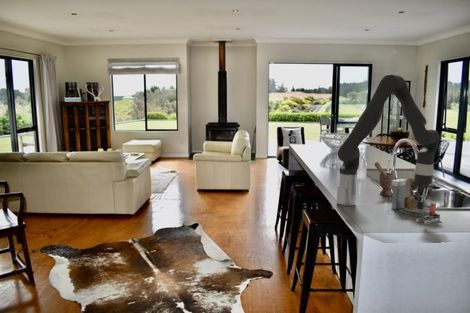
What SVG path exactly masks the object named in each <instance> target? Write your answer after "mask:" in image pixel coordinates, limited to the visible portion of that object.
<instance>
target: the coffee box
mask: <svg viewBox="0 0 470 313" xmlns="http://www.w3.org/2000/svg"><path fill="white" fill-rule="evenodd" d="M406 179H407V180H406V187H405V202H404V208H403V209H404V210H406V211H411V212H416V213H421V214H422V213H424V212H425V211H426V210H427V201H428V199H427V200H425V202H424V206H423V209H422V210H420V209H417V203H418V201H416V200H415V199H414V197H413V195H412V191H414V190H415V187H416V183H415V182H414V178H413V177H410V178H409V177H408V178H406Z"/></svg>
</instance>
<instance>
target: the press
mask: <svg viewBox="0 0 470 313" xmlns="http://www.w3.org/2000/svg"><path fill="white" fill-rule="evenodd" d="M407 179H408V178H399V179H395V180H392V185H393V187H392V193H393V195H392V196H391V197H392V198H391V210H395V211H397V210H399V212H398V213H401V214H404V215H408V216H411V217H415V218H416V219H415V222H416V223H421V222H423V221H424V222H423V224H424V225H425V226H427V225H430V224H433V222H434V223H437V222H439V221H440V220H441V214H439V213H437V212H435V216H436V218H433V219H428V218H429V215H430V210H427V209H426V211H425V212H424V213H422V214H421V213H416V212H411V211H406V210H404V202H405V187H406V180H407ZM427 214H428V215H427ZM420 216H421V217H420ZM427 219H428V220H427Z"/></svg>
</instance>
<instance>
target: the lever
mask: <svg viewBox="0 0 470 313" xmlns="http://www.w3.org/2000/svg"><path fill="white" fill-rule="evenodd" d="M429 205H430V206H429V211H430V215H429V214H428V215H429V218H428V220H429V219H433V218H436V216H435V213H436V208H437V203H436V202H435V203H434V202H431V203H430V204H429Z"/></svg>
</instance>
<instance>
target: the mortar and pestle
mask: <svg viewBox="0 0 470 313" xmlns="http://www.w3.org/2000/svg"><path fill="white" fill-rule="evenodd" d="M374 167H375V168H376V169H377V171H378V172H379V184H380V187H381V188H382V190H380V193H379V195H380V196H382V197H392V195H393V191H391V189H393V185H392V180H396V174H395V173H393V172H385V171H384V169H383V168H382V165H381V164H380V163H379V162H377V161H376V162H375V163H374Z"/></svg>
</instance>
